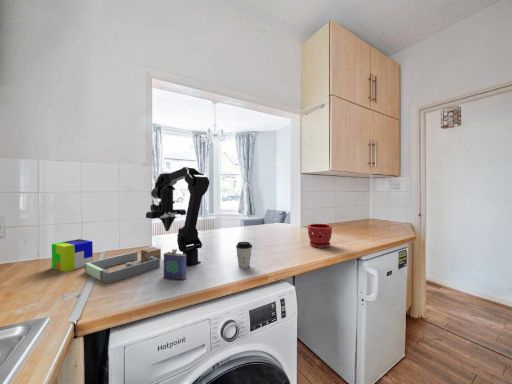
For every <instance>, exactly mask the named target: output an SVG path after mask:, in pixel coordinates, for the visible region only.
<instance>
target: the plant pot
mask: <svg viewBox="0 0 512 384" xmlns="http://www.w3.org/2000/svg"><path fill="white" fill-rule="evenodd" d="M332 231H333V230H332V225H330V224H328V223H327V224H326V223H312V224H308V225H307V233H308V234H307V235H308V238H309V245H310V246H311V247H313V248H318V249H320V248H321V249H323V248H325V247H327V248H329V247H330V246H331V242H330V241H331V239H332V234H333V233H332ZM325 249H326V248H325Z"/></svg>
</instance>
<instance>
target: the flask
mask: <svg viewBox="0 0 512 384" xmlns="http://www.w3.org/2000/svg"><path fill="white" fill-rule="evenodd" d="M177 251H178V249H176V248H174V249H171V251H168V252H164V253H163V279H165V280H173V281H184V280H186V279H187V266H186V254H183V253H177Z"/></svg>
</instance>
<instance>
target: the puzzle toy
mask: <svg viewBox="0 0 512 384" xmlns="http://www.w3.org/2000/svg"><path fill="white" fill-rule="evenodd" d="M93 246H94V245H93V241H92V240H87V239H81V238H78V239H73V240H67V241H60V242H56V243H55V242H54V243H51V269H54V268H55V270H58V271H61V272H64V273H65V272H70V271H73V270H77V269H81V268H83V267H84V268H85V263H88V262H93V261H94V260H93V259H94V258H93V256H94V255H93V254H94V253H93V251H94V249H93Z"/></svg>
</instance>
